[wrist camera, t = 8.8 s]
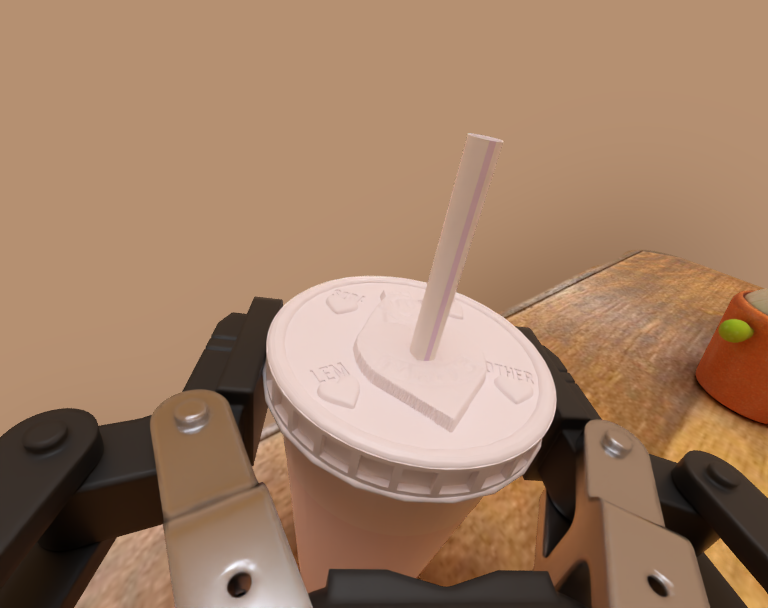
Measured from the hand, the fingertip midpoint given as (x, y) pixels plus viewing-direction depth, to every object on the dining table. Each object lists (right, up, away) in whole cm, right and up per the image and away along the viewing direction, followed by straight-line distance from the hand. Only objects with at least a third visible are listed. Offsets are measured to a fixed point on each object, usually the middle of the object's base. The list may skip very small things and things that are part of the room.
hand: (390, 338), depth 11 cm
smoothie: (-1, -8, +2) cm, 9 cm away
